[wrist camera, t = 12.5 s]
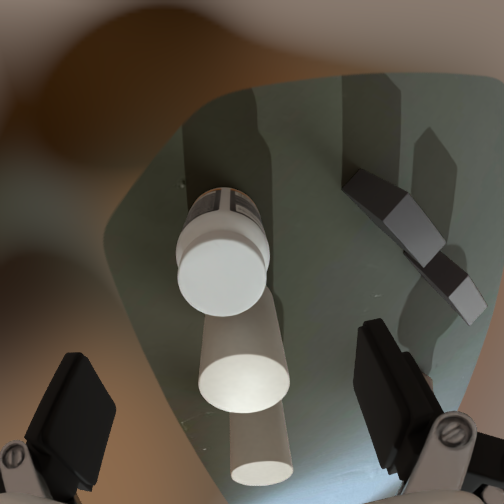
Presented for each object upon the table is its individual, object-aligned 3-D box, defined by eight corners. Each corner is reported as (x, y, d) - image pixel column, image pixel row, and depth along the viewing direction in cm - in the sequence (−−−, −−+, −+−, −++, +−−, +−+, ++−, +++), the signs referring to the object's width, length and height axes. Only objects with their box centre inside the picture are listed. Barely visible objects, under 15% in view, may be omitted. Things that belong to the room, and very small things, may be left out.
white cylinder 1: (193, 308, 29) (180, 390, 20) (235, 262, 27) (237, 337, 18) (244, 340, 31) (249, 422, 22) (287, 299, 29) (308, 379, 20)
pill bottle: (194, 256, 27) (177, 329, 18) (184, 189, 25) (156, 235, 15) (262, 249, 27) (278, 320, 18) (257, 181, 25) (272, 223, 16)
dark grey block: (340, 189, 25) (382, 221, 18) (360, 167, 25) (408, 192, 17) (378, 227, 27) (423, 268, 19) (396, 207, 26) (447, 242, 19)
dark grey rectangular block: (402, 253, 28) (447, 297, 21) (419, 235, 27) (468, 274, 20) (427, 281, 29) (469, 326, 22) (443, 264, 29) (488, 306, 21)
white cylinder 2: (219, 404, 35) (218, 477, 25) (252, 377, 33) (259, 455, 24) (258, 421, 36) (264, 490, 27) (292, 397, 35) (306, 469, 26)
